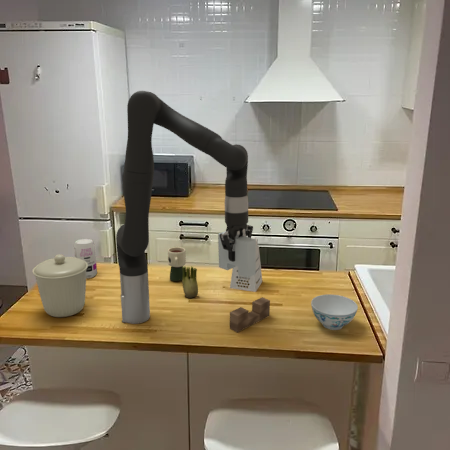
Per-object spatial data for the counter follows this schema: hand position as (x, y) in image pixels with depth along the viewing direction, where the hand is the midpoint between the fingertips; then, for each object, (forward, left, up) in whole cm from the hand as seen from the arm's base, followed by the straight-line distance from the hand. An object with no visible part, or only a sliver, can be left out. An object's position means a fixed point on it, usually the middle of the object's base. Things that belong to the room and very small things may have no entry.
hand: (237, 258), depth 154 cm
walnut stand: (+4, -3, -22) cm, 23 cm away
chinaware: (+31, -9, -22) cm, 39 cm away
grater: (+9, +27, -22) cm, 36 cm away
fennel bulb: (-14, +20, -22) cm, 33 cm away
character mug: (-18, +36, -22) cm, 46 cm away
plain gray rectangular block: (0, 0, -4) cm, 4 cm away
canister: (-59, +15, -22) cm, 65 cm away
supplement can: (-55, +46, -22) cm, 75 cm away
